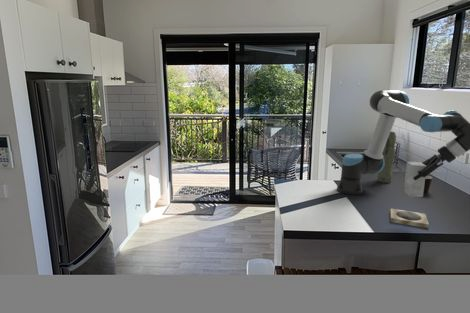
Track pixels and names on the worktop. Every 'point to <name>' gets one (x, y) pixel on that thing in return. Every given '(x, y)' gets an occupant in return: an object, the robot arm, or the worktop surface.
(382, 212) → the worktop surface
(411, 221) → the birch board
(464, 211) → the worktop surface
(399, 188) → the worktop surface
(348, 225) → the worktop surface
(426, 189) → the coffee mug
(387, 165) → the olive green tapered column
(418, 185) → the skincare box
